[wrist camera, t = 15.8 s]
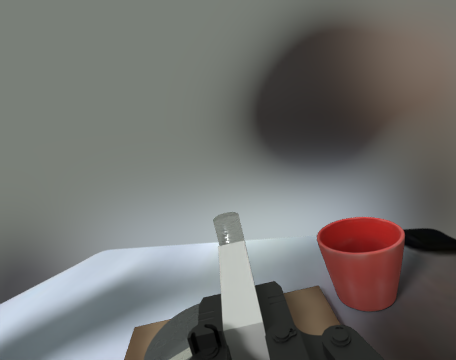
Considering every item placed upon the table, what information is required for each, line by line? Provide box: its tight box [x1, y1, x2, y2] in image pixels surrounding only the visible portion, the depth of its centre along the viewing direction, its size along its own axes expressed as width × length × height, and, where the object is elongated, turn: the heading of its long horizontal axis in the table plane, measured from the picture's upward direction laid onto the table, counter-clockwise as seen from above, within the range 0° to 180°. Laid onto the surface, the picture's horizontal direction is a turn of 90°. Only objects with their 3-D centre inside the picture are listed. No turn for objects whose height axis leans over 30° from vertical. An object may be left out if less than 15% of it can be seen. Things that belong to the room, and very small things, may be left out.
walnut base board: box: [124, 286, 340, 360], centre depth 39 cm, size 28×18×2 cm, turn 93°
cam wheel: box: [144, 212, 255, 360], centre depth 36 cm, size 18×16×16 cm
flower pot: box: [317, 217, 405, 311], centre depth 44 cm, size 11×11×10 cm
